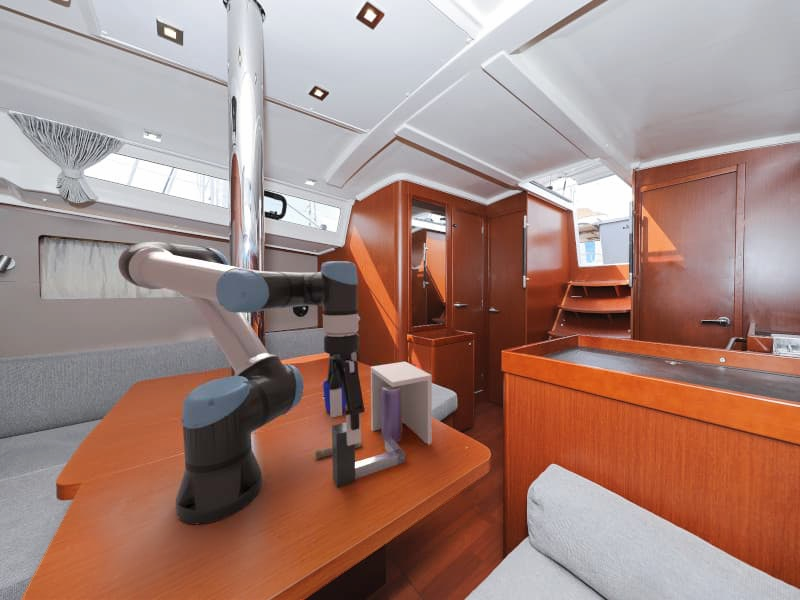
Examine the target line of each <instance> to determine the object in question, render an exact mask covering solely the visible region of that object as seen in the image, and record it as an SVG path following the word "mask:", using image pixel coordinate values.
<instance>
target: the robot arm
mask: <svg viewBox="0 0 800 600" xmlns="http://www.w3.org/2000/svg"><path fill="white" fill-rule="evenodd" d="M117 266H118V270H119V272H120V274H121V276H122V277H123V278H124V279H125V280H126V281H127V282H129V283H131V284H133V286H137V287H140V288H144V289H147V290H161V289H167V290H170V291H175V292H179V293H180V294H181V296H182V297H183V299H184V300H186V301H189V302H193V303H194V305H195V307H196V308H197V310H198V312H199V313H200V315H201V317H202V318H203V320H204V322H205V324H206V325H207V327H208V328H209V330H210V332H211V334H212V335H213V337H214V339H215V341H216V342H217V344H218V346H219V347H220V349H221V351H222V352H223V354H224V356H225V358H226V359H227V361H228V362H229V364H230V366H231V367H232V369H233V370H234V375H230V376H224V377H222V378H219V377H218V378H216V379H212V380H209V381H206V382H205V383H202V384H199V385H198V386H197V387H194V388H193V389H192V390H191V391H189V392H188V394H187V395H186V396H185V397H184V400H183V401H182V402H183V403H182V409H181V412H182V413H181V417H180V420H181V425H182V429H183V430H182V432H183V433H182V435H183V450H184V452H183V453H184V461H185V462H184V463H185V464H184V468H185V469H184V473H183V475H182V478H181V482H180V485H179V488H178V492H177V494H176V498H175V514H176V516H178V517H179V518H178V517H177V518H178V519H179V520H180V519H181V520H182V521H181V520H180V521H181V522H183V521H184V522H183V523H185V522H187V523H186V524H189V523H193V525H203V524H209V523H212V522H216V521H219V520H222V519H225V518H227V517H229V516H231V515H233V514H235V513H238V512H239V511H240V510H242V509H243V508H245V507H246V506H247V505H249V504H250V502H252V501H253V500H254V499H255V498H256V497H257V495H258V494H259V492H260V491H261V488H262V485H263V484H262V483H263V479H262V478H263V475H262V469H261V467H260V465H259V462H258V461H257V459H256V456H255V453H254V452H253V450H252V433H253V432H254V431H256V430H258V429H259V428H261V427H263V426H265V425H267V424H268V423H271V422H272V421H274V420H276V419H277V418H279V417H281V416H283V415H286V414H287V413H288V412H289V411H291V410H292V409H293V408H295V407H297V406H298V404H300V402H301V400H302V397H303V395H304V388H305V387H304V379H303V376H302V373H301V372H300V370H299V369H298V368H297V367H296V366H294V365H291V364H290V363H283V361H282V360H281V359H280V358H279V356H278V355H277V354H271V353H269V352H268V351H267V349H266V347H265V346H264V344H263V342H262V340H260V338H259V336H258V335H257V333H256V331H255V330H254V329H253V326H252V325H251V324H250V322H249V321H248V319H247V318H246V316H245V314H244V313H247V314H250V313H254V312H262V311H268V310H269V311H270V310H277V309H286V308H296V307H306V306H307V307H308V306H311V307H312V306H313V307H317V306H318V307H322V331H323V333H324V334H325V335H324V336H323V350H324V352H325V353H326V354H328V355H329V356H328V368H327V369H328V370H327V377H326V378H327V379H326V380H327V383H328V384H329V388H330V389H331V390H330V413H329V414H330V415H329V416H330V418H336V417H339V416H343V414H344V416H345V423H346V431H347V445H348V446H349V445H353V444H356V443H360V442H361V440H362V433H361V432H362V430H361V427H362V426H361V413H365V406H364V405H365V404H364V400H363V399H364V398H363V394H362V386H361V381H360V376H359V366H358V365H359V363H358V361H357V360H353V358H352V354H353V353H357V352H358V351H359V349H360V334H359V333H358V331H359V321H361V317H360V316H359V309H358V308H359V303H358V301H359V300H358V299H359V297H358V296H359V295H358V291H359V290H358V285H359V281H358V271H357V265H356V264H355V263H353V262H351V261H326V262H322V264H321V269H320V271H318V272H317V271H316V272H291V271H290V272H289V271H264V270H256V269H250V268H243V267H239V266H233V265H230V264H229V261H228V260H227V258H226V256H225V255H224V254H223V253H222V252H220V251H219V250H217V249H215V248H211V247H206V246H202V245H197V246H194V245H186V244H178V243H177V244H176V243H171V242H170V243H167V242H161V241H146V242H145V241H144V242H139V243H135V244H133V245H131V246H129V247H127V248H126V249H125V250H124V251H123V252H122V253H121V254H120V256H119V258H118V265H117ZM338 387H343V392H344V396H345V401H346V410H344V411H345V412H344V413H343V411H342V389H341V388H338ZM197 523H198V524H197ZM201 523H202V524H201Z"/></svg>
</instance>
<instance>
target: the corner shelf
mask: <svg viewBox="0 0 800 600" xmlns="http://www.w3.org/2000/svg"><path fill="white" fill-rule="evenodd" d="M432 380H433V377H432V374H431V373H428V372H426V371H425V370H423V369H421V368H418V366H416V365H415V366H414V365H413V364H411V363H409V362H407V361H400V362H394V363H387V364H380V365H379V364H378V365H373V366H370V411H371V412H370V416H371V417H370V419H371V421H370V424H371V426H370V428H371V431H372V432H374V431H380V430H381V389H382V385H383V384H386V383H388V384H389V385H391V386H392V387H395V386H401V388H402V424H404V425H405V426H407V428H409V429H410V428H411V429H412V430H413V431H414V432H415V433H416V434H417V435H418V436H417V435H416V434H415V433H414V432H413V431H412V430H411V429H410V430H411V431H412V432H413V433H414V434H415V435H416V436H417V437H419V438H420V439H421V441H423V442H424V443H425V444H426V443H427V444H428V445H427V444H426V445H427V446H430V445H432V444H431V443H433V442H432V441H433V439H432V434H433V432H432V430H433V428H432V425H433V424H432V420H433V418H432V417H433V413H432V411H433V410H432V409H433V408H432V405H433V404H432V403H433V400H432V399H433V398H432V397H433V395H432V393H433V391H432V388H433V387H432V385H433V384H432ZM429 444H430V445H429Z"/></svg>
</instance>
